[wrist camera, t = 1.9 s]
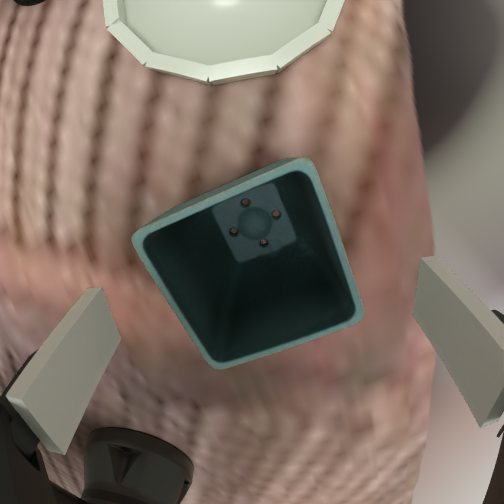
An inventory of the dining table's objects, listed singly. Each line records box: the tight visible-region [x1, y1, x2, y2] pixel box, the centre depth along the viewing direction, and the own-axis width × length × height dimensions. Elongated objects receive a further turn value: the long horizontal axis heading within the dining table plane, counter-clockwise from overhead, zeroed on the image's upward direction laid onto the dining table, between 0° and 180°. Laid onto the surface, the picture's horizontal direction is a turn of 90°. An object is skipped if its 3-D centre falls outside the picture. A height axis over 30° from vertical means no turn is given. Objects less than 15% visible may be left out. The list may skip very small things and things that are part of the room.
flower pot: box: [132, 158, 364, 370], centre depth 19 cm, size 9×9×9 cm
